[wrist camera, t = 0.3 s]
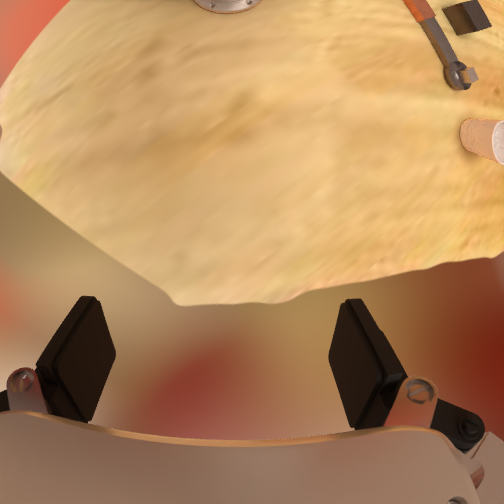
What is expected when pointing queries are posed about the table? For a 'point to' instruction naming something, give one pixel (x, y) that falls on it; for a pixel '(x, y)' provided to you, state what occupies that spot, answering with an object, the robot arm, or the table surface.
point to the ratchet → (442, 46)
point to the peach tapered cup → (484, 138)
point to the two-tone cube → (467, 17)
